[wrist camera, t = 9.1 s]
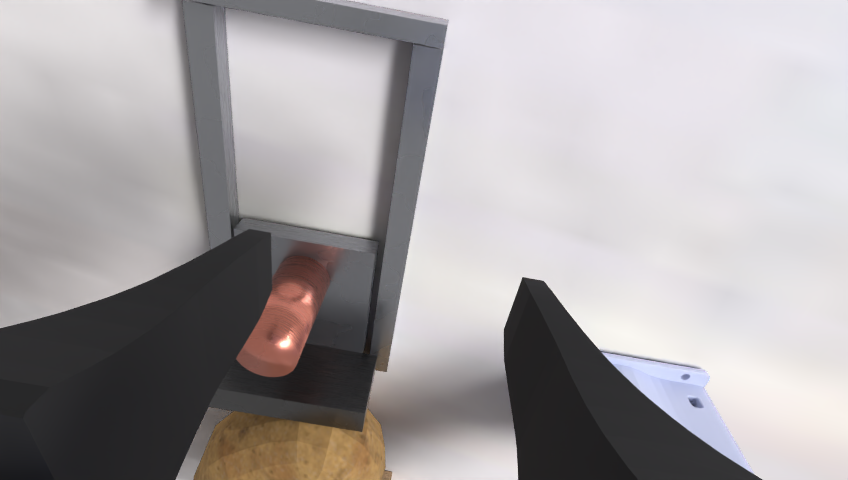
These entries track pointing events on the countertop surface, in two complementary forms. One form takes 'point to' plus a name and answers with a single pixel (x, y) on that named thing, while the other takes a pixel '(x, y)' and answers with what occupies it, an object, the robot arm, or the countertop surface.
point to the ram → (308, 332)
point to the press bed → (212, 105)
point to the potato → (291, 450)
